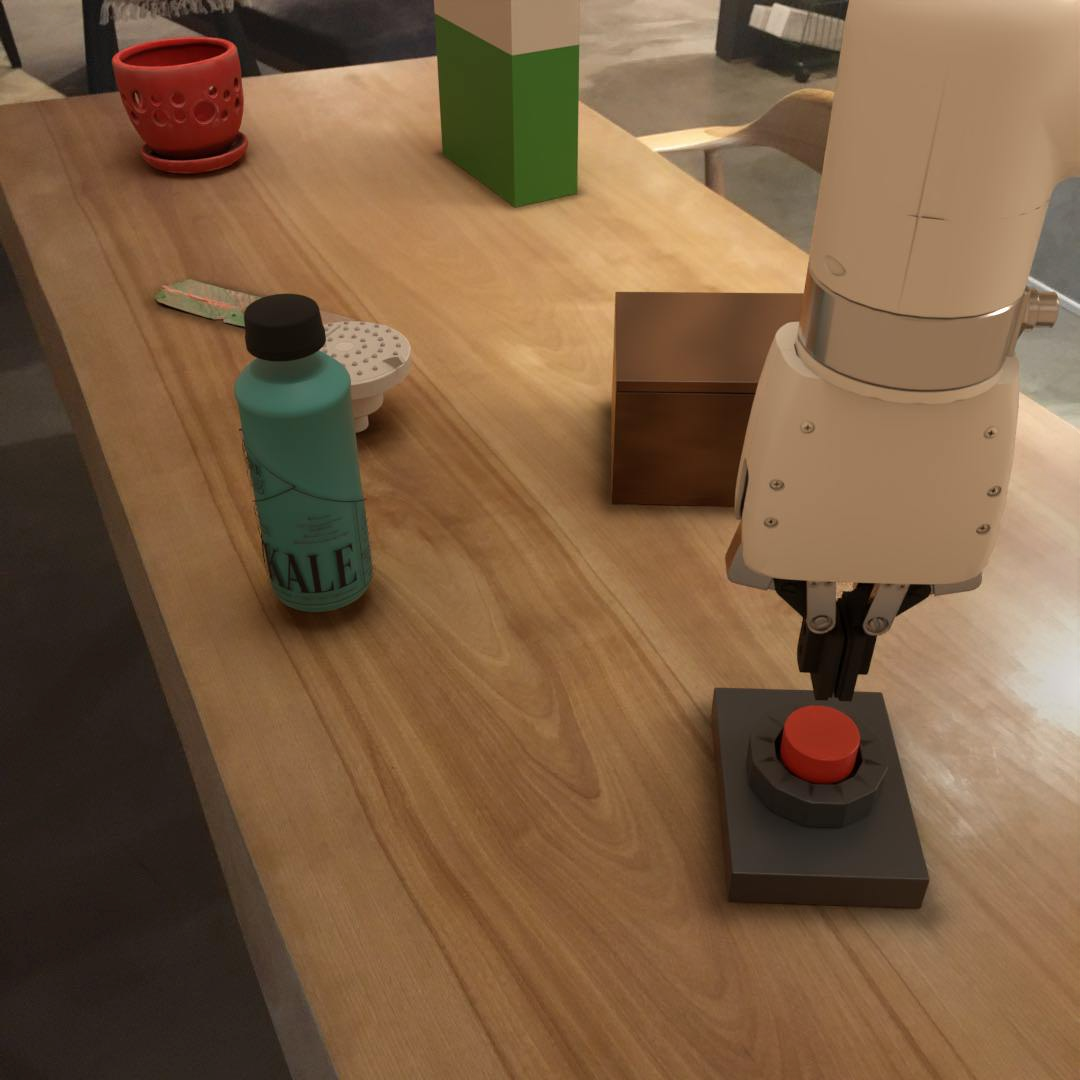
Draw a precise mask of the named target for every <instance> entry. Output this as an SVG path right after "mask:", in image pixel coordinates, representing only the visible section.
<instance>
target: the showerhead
mask: <svg viewBox="0 0 1080 1080" xmlns="http://www.w3.org/2000/svg"><path fill="white" fill-rule="evenodd" d="M323 326H324V329H325V334H326V342H325V344H324V346H323V347H322V348H321V349H320V350H319V351H322V352H324V353H326V354H327V355H329V356H331V357H333V358H334V359H336V360H337V361H338V362H340V363H341V364H342V365H343V366H344V367H345V368H346V369H347V371H348V373H349V375H350V378H351V388H350V389H351V398H352V407H353V416H354V424H355V433H357V434H358V433H361V432H363V431H365V430H366V429H367V428H368V427H369V415H371V414H373V413H375V412H377V411H378V410H379V409H380V408H381V407H382V405H383V403H384V401H385V399H384V398H385V397H384V393H386V392H388V391H389V390H392V389H393V388H395V387H397V386H398V385H399V384H401V383H402V381H404V380H406V378H407V377H408V375H409V374H410V372H411V370H412V348H411V343H410V341H409V340H408V338H407V337H406V336H405V335H404V334H403V333H401V332H400V331H398V330H396V328H393V327H390V326H388V325H385V324H380V323H376V322H370V321H365V320H359V321H356V320H355V321H344V322H337V323H328V324H325V325H323Z"/></svg>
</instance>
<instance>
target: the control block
mask: <svg viewBox="0 0 1080 1080" xmlns="http://www.w3.org/2000/svg"><path fill="white" fill-rule="evenodd" d="M812 705H819V706H826V707H830V708H833V709H836V710H838V711H840V712H842V713H844V714H845V715H847V716H848V717H849V718H850V719H851V720H852V721H853V722H854V723H855V725H856V726H857V728H858V731H859V734H860V743H859V747H858V752H857V756H856V760H855V764H854V768H853V770H852V772H851V773H850V774H849V775H848V776H847V777H846V778H844V779H843V780H841V781H838V782H836V783H831V784H816V783H811V782H808V781H805V780H803V779H801V778H799V777H797V776H795V775H794V774H793V773H792V772H790V771H789V770H788V769H787V767H786V766H785V765H784V763H783V761H782V758H781V755H780V747H781V741H782V735H783V730H784V724H785V721H786V719H787V718H788V716H789V715H790V714H791V713H792V712H794V711H795V710H797V709H799V708H802V707H805V706H812ZM710 710H711V711H710V721H711V732H712V744H713V753H714V762H715V763H714V766H715V776H716V777H715V778H716V787H717V799H718V808H719V809H718V810H719V818H720V820H719V821H720V829H721V831H720V832H721V840H722V851H723V862H724V875H725V884H726V895H727V901H728V902H739V903H740V902H741V903H742V902H743V903H768V904H769V903H771V904H795V905H796V904H797V905H825V906H827V905H828V906H851V907H852V906H853V907H854V906H855V907H881V908H883V907H885V908H906V909H907V908H910V909H911V908H912V909H913V908H914V909H921V908H922V905H923V902H924V900H925V896H926V893H927V890H928V887H929V883H930V881H931V880H930V875H929V870H928V867H927V863H926V859H925V856H924V852H923V847H922V844H921V840H920V836H919V832H918V828H917V824H916V820H915V816H914V812H913V808H912V805H911V804H912V803H911V800H910V796H909V793H908V788H907V784H906V781H905V776H904V773H903V769H902V765H901V761H900V757H899V754H898V749H897V745H896V741H895V738H894V734H893V730H892V726H891V721H890V718H889V714H888V709H887V705H886V702H885V697H884V694H883V692H882V691H855V690H854V694H853V698H852V701H839V699H838V698H835V697H834V693H833V696H832V698H828V700H827V701H823V700H815V697H814V692H813V689H785V688H784V689H783V688H781V689H780V688H749V687H748V688H746V687H714V688H713V693H712V701H711V709H710Z"/></svg>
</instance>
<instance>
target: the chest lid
mask: <svg viewBox="0 0 1080 1080" xmlns="http://www.w3.org/2000/svg"><path fill="white" fill-rule="evenodd" d="M614 293H615V295H614V319H615V339H616V391H644V392H727V393H756V390H757V386H758V382H759V379H760V376H761V373H762V370H763V367H764V364H765V361H766V358H767V355H768V352H769V350H770V347H771V344H772V342H773V340H774V337H775V335H776V333H777V331H778V330H779V329H780V328H781V327H782V326H783V325H785V324H787V323H790V322H799V320H800V314H801V307H802V301H803V294H804V292H802V293H801V292H710V291H709V292H706V291H705V292H703V291H702V292H700V291H698V292H697V291H696V292H695V291H693V292H692V291H691V292H690V291H689V292H688V291H687V292H686V291H615V292H614Z"/></svg>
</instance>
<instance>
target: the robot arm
mask: <svg viewBox="0 0 1080 1080" xmlns="http://www.w3.org/2000/svg"><path fill="white" fill-rule="evenodd" d="M844 19H845V20H844V27H843V33H842V38H841V39H842V40H841V44H840V45H841V47H840V51H839V59H838V65H837V71H836V79H835V87H834V91H833V92H834V93H833V99H832V105H831V111H830V118H829V126H828V133H827V139H826V145H825V150H824V159H823V165H822V171H821V176H820V177H821V178H820V182H819V183H820V185H819V190H818V197H817V203H816V210H815V216H814V222H813V229H812V235H811V243H810V249H809V255H808V262H807V267H806V268H807V269H806V274H805V281H804V289H803V293H804V294H803V301H802V307H801V314H800V320H799V322H790V323H787V324H785V325H783V326H782V327H781V328H780V329H779V330H778V331H777V333H776V335H775V337H774V340H773V342H772V344H771V347H770V350H769V352H768V355H767V358H766V361H765V364H764V367H763V370H762V373H761V376H760V379H759V382H758V386H757V390H756V394H755V397H754V401H753V405H752V409H751V413H750V417H749V422H748V426H747V430H746V435H745V440H744V445H743V450H742V455H741V460H740V465H739V471H738V476H737V483H736V491H735V506H734V516H735V519H736V520H740V521H739V524H738V525H737V528H736V530H735V533H734V535H733V537H732V539H731V542H730V544H729V546H728V548H727V550H726V552H725V554H724V555H725V556H724V563H725V571H726V577H727V580H728V581H729V582H731V583H733V584H736V585H740V586H743V587H744V586H745V587H749V588H752V589H758V590H761V591H766V592H767V591H769V590H771V591H775V593H776V594H777V595H778V596H779V597H780V598H781V599H782V600H783V601H784V602H785V603H787V604H788V605H789V606H790V607H791V608H792V609H793V610H794V611H795V612H796V613H798V615H799V616H801V617H802V618H801V619H802V620H801V625H800V630H799V634H798V635H799V636H798V641H797V649H796V663H797V666H798V671H799V673H800V674H801V673H803V674H809V676H810V682H811V686H812V690H813V692H814V697H815V700H823V701H827V700H828V698H832V696H833V693H834V697H835V698H838V699H839V701H852V698H853V694H854V691H855V689H856V685H857V680H858V677H859V675H860V676H867V675H868V674H869V672H870V668H871V664H872V660H873V656H874V651H875V648H876V642H877V639H878V637H879V636H883V635H885V634H887V633H888V632H889V631H890V629H891V628H892V626H893V623H894V621H895V619H896V618H897V617H899V616H900V615H901V614H903V613H905V612H907V611H908V610H910V609H912V608H914V607H915V606H916V605H919V604H920V603H921V602H923V601H924V600H926V599H928V598H929V597H930V596H931V595H934V597H939V596H946V595H952V594H959V593H966V592H972V591H974V590H977V589H978V588H980V587H981V585H982V581H983V570H984V569H985V568H986V566H987V564H988V562H989V561H990V559H991V557H992V554H993V551H994V548H995V545H996V542H997V538H998V535H999V532H1000V527H1001V524H1002V519H1003V515H1004V510H1005V507H1006V502H1007V497H1008V491H1009V486H1010V481H1011V477H1012V469H1013V464H1014V463H1013V462H1014V455H1015V447H1016V439H1017V438H1016V436H1017V430H1018V429H1017V427H1018V418H1019V409H1020V406H1019V405H1020V389H1021V388H1020V387H1021V386H1020V383H1021V379H1020V378H1021V367H1020V361H1019V359H1018V357H1017V353H1016V351H1015V350H1016V347H1017V342H1018V341H1019V338H1020V337H1021V335H1022V334H1023V332H1026V333H1029V332H1031V331H1033V330H1034V329H1052V328H1053V327H1054V326H1055V324H1056V323H1057V319H1058V316H1059V310H1060V300H1059V295H1058V293H1057V292H1056V291H1043V290H1042V291H1041V290H1039V291H1038V289H1037V288H1036V287H1034V286H1033V287H1031V286H1028V285H1027V284H1028V280H1029V278H1030V274H1031V270H1032V266H1033V262H1034V259H1035V255H1036V251H1037V248H1038V245H1039V241H1040V237H1041V234H1042V230H1043V226H1044V223H1045V219H1046V216H1047V213H1048V208H1049V204H1050V202H1051V198H1052V195H1053V192H1054V190H1055V189H1056V187H1057V185H1059V184H1060V183H1061V182H1062V181H1065V180H1066V179H1071V178H1080V0H848V4H847V9H846V15H845V18H844ZM837 583H852V590H850V591H848V590H843V591H842V594H841V597H837Z"/></svg>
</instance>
